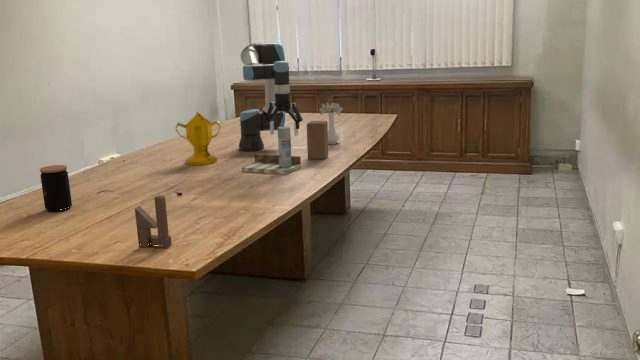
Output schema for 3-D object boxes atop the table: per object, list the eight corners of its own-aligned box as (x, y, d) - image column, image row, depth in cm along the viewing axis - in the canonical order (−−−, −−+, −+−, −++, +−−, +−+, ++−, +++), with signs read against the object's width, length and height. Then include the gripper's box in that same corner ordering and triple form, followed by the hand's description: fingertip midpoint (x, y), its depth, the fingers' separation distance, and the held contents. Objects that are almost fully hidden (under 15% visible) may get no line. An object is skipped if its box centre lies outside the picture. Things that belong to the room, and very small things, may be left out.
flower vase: (345, 140, 403) (344, 100, 396) (338, 145, 385) (337, 104, 379) (325, 139, 406) (324, 100, 400) (317, 145, 389) (316, 104, 383)
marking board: (241, 171, 328) (241, 159, 327) (256, 164, 343) (256, 153, 341) (287, 174, 318) (286, 162, 317) (300, 167, 332) (300, 156, 331)
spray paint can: (282, 168, 323) (280, 129, 318) (277, 165, 329) (275, 127, 324) (294, 166, 326) (292, 127, 321) (288, 164, 331) (287, 126, 327)
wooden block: (325, 159, 349) (324, 123, 344) (307, 159, 351) (306, 123, 346) (328, 155, 359) (327, 120, 354) (311, 155, 361) (310, 120, 356)
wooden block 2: (143, 244, 224) (137, 194, 220) (172, 245, 222) (167, 195, 218) (138, 247, 221) (133, 197, 216) (167, 248, 219) (162, 198, 214)
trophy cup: (176, 161, 358) (172, 111, 351) (219, 156, 366) (216, 107, 359) (181, 167, 342) (176, 115, 335) (226, 162, 350) (222, 111, 343)
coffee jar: (50, 206, 275) (44, 165, 271) (75, 204, 276) (70, 164, 272) (41, 213, 265) (35, 171, 261) (68, 212, 266) (62, 170, 262)
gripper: (256, 93, 320) (258, 134, 325) (301, 94, 310) (303, 137, 315) (263, 91, 326) (265, 132, 332) (308, 92, 317) (309, 134, 322)
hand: (284, 134), depth 324 cm, fingers open, 13 cm apart
